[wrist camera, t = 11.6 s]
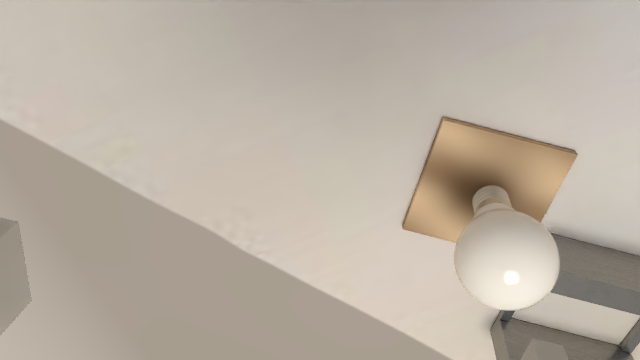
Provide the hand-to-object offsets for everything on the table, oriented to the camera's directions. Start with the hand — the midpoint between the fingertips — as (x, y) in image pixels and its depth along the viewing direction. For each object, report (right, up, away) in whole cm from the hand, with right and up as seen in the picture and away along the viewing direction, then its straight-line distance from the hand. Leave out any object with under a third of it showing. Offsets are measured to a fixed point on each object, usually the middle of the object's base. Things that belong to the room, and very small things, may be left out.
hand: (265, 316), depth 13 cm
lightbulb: (+15, +2, +26) cm, 30 cm away
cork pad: (+14, +3, +27) cm, 30 cm away
